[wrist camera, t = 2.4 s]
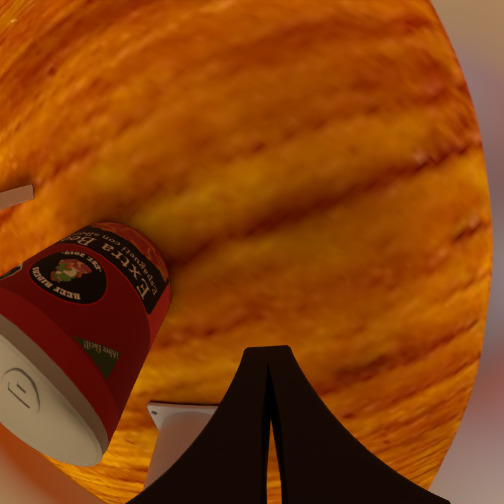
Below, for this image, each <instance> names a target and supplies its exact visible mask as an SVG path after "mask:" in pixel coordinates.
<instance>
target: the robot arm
mask: <svg viewBox="0 0 504 504" xmlns="http://www.w3.org/2000/svg"><path fill="white" fill-rule="evenodd" d="M147 409H148V411H149V413H150V415H151V417H152V419H153V421H154V423H155V425H156V427H157V428H158V430H159V434H158V438H157V441H156V445H155V448H154V452H153V455H152V459H151V462H150V466H149V470H148V473H147V477H146V480H145V484H144V488H143V491H142V492H141V493H140V494H138V495H137V496H136V497H134V498H133V499H131V500H130V501H128V502H127V503H125V504H267V466H268V452H269V438H270V423H271V421H272V428H273V434H274V441H275V447H276V453H277V459H278V466H279V472H280V480H281V495H282V504H450V502H449V501H448V500H446V499H444V498H441V497H439V496H437V495H435V494H433V493H431V492H429V491H427V490H425V489H424V488H422V487H420V486H418V485H416V484H415V483H413V482H411V481H410V480H408V479H407V478H405V477H403V476H402V475H400V474H399V473H397V472H396V471H394V470H393V469H392V468H390V467H389V466H388V465H387V464H385V463H384V462H383V461H381V460H380V459H379V458H377V457H376V456H375V455H374V454H372V453H371V452H370V451H369V450H367V449H366V448H365V447H364V446H363V445H362V444H361V443H360V442H359V441H358V440H357V439H355V438H354V437H353V436H352V435H351V434H350V432H349V431H348V430H347V429H346V428H345V427H344V426H343V425H342V424H341V423H340V422H339V421H338V420H337V419H336V417H335V416H334V415H333V414H332V413H331V411H330V410H329V409H328V408H327V406H326V405H325V404H324V403H323V401H322V400H321V399H320V397H319V396H318V395H317V393H316V392H315V390H314V389H313V387H312V386H311V384H310V383H309V382H308V380H307V378H306V377H305V375H304V374H303V372H302V370H301V368H300V367H299V365H298V363H297V361H296V359H295V357H294V355H293V353H292V350H291V348H290V347H289V346H288V345H282V346H266V347H247V348H246V349H245V350H244V353H243V356H242V359H241V362H240V365H239V367H238V370H237V372H236V374H235V376H234V379H233V381H232V383H231V384H230V386H229V388H228V390H227V392H226V394H225V396H224V398H223V399H222V401H221V403H220V404H219V406H195V405H176V404H163V403H153V402H151V403H148V405H147Z"/></svg>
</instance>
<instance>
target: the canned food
mask: <svg viewBox="0 0 504 504" xmlns="http://www.w3.org/2000/svg"><path fill="white" fill-rule="evenodd" d="M170 298H171V294H170V277H169V273H168V268H167V266H166V263H165V261H164V259H163V256H162V255H161V253H160V252H159V250H158V249H157V247H156V246H155V245H154V244H153V243H152V242H151V241H150V240H149V238H148V237H146V236H145V235H144V234H142V233H141V232H139V231H138V230H136V229H134V228H132V227H130V226H128V225H124V224H120V223H113V222H98V223H94V224H90V225H88V226H86V227H84V228H82V229H80V230H78V231H76V232H75V233H73V234H71V235H69V236H67V237H65V238H64V239H62V240H60V241H58V242H56V243H55V244H53V245H51V246H49V247H48V248H46V249H44V250H43V251H41V252H39V253H38V254H36V255H34V256H33V257H31V258H29V259H28V260H26V261H24V262H23V263H21V264H20V265H18V266H16V267H15V268H13V269H12V270H10V271H9V272H7V273H6V274H4V275H3V276H1V277H0V422H1V423H2V424H3V425H4V426H5V427H6V428H7V429H9V430H10V431H11V432H12V433H14V434H15V435H16V436H17V437H18V438H20V439H21V440H23V441H24V442H25V443H27V444H28V445H30V446H31V447H33V448H35V449H36V450H38V451H40V452H41V453H43V454H45V455H47V456H49V457H51V458H54V459H56V460H59V461H62V462H64V463H68V464H72V465H77V466H93V465H96V464H98V463H99V462H100V461H101V459H102V457H103V454H104V453H105V452H106V450H107V448H108V446H109V443H110V441H111V438H112V436H113V434H114V432H115V430H116V427H117V425H118V422H119V420H120V417H121V415H122V413H123V410H124V408H125V405H126V403H127V401H128V398H129V396H130V393H131V391H132V389H133V386H134V384H135V382H136V379H137V377H138V375H139V373H140V370H141V368H142V366H143V364H144V361H145V359H146V357H147V355H148V352H149V350H150V348H151V346H152V344H153V341H154V339H155V337H156V335H157V333H158V331H159V329H160V326H161V324H162V322H163V320H164V318H165V316H166V313H167V311H168V308H169V303H170Z"/></svg>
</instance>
